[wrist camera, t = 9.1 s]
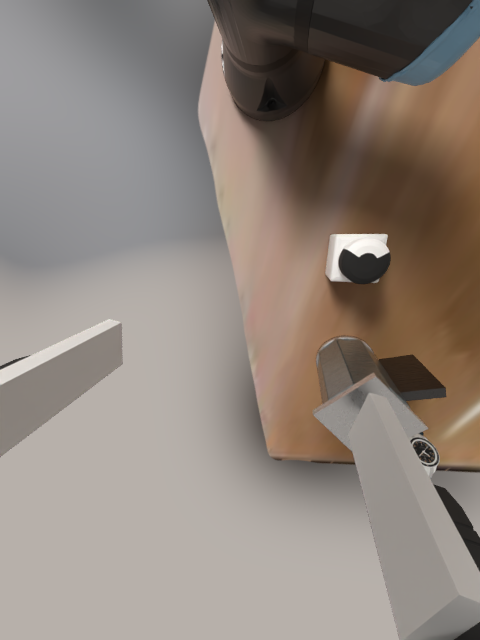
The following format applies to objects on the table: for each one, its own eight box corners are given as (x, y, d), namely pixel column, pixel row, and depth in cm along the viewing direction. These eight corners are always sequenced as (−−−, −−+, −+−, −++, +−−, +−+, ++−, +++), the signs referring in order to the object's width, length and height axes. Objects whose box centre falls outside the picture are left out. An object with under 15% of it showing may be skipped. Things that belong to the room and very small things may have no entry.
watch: (419, 415, 49) (451, 461, 39) (407, 443, 52) (434, 493, 42) (390, 409, 50) (414, 453, 40) (379, 437, 53) (399, 485, 43)
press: (368, 309, 44) (410, 351, 28) (410, 352, 45) (473, 416, 29) (304, 357, 50) (309, 414, 34) (342, 394, 51) (363, 466, 35)
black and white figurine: (366, 276, 42) (390, 290, 31) (324, 274, 44) (334, 288, 33) (373, 234, 40) (403, 233, 29) (329, 234, 41) (342, 233, 30)
